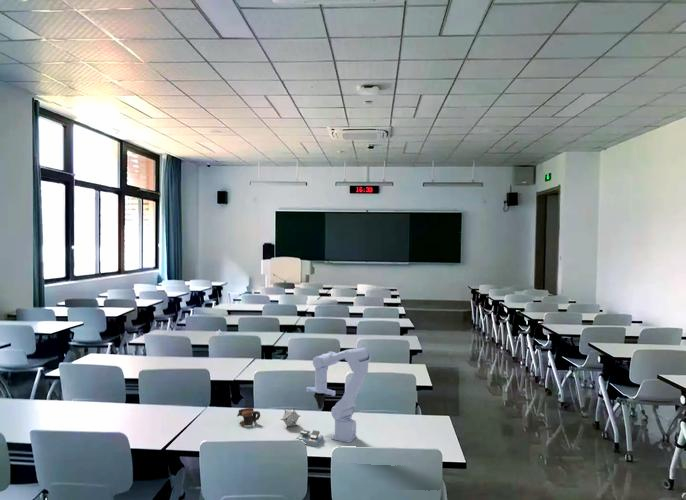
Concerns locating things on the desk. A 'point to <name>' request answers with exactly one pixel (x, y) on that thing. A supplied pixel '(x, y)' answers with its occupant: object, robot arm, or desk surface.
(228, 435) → the desk surface
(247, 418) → the pottery mug
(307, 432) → the rocker
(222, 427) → the desk surface
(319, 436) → the switch panel
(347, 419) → the robot arm
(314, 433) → the rocker
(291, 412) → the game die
